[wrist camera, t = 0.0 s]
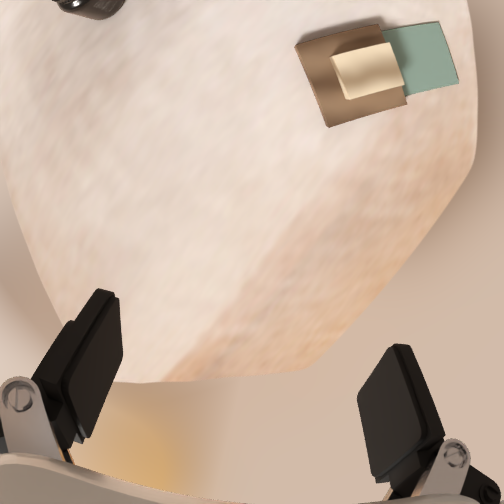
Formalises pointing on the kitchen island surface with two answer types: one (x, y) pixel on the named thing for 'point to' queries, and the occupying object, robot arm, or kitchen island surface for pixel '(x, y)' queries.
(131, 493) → the robot arm
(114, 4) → the supplement bottle
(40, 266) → the kitchen island surface
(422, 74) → the rubber mat
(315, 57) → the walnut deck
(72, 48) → the kitchen island surface
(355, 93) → the birch tile
